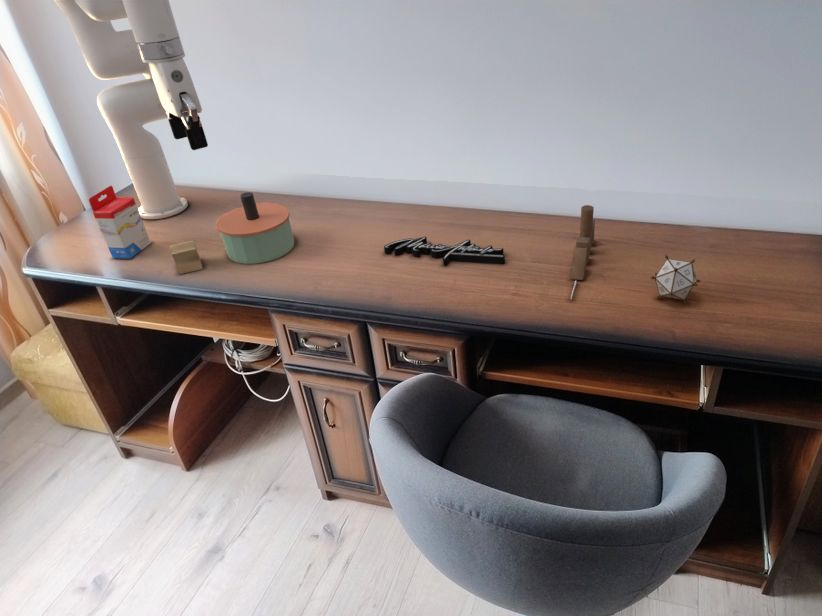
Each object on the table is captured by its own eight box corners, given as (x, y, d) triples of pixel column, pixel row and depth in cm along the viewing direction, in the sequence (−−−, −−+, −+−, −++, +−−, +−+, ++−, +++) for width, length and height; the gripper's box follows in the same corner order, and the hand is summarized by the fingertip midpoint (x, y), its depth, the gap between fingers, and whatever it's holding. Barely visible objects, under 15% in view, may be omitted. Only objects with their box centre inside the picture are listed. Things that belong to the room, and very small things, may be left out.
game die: (659, 311, 122) (640, 263, 122) (702, 294, 121) (683, 245, 120) (667, 315, 114) (646, 263, 113) (714, 296, 112) (693, 243, 112)
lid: (213, 217, 147) (204, 190, 143) (283, 202, 152) (276, 175, 148) (221, 245, 135) (212, 216, 131) (297, 227, 140) (290, 199, 136)
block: (178, 264, 143) (170, 244, 140) (200, 259, 144) (193, 239, 141) (179, 274, 139) (171, 254, 136) (202, 268, 141) (195, 248, 138)
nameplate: (377, 255, 137) (392, 235, 145) (378, 262, 138) (392, 241, 146) (502, 262, 131) (510, 240, 139) (502, 269, 132) (510, 247, 140)
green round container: (223, 242, 151) (215, 215, 146) (288, 227, 155) (281, 200, 151) (231, 270, 139) (222, 241, 135) (301, 253, 144) (294, 225, 139)
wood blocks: (582, 240, 140) (584, 196, 134) (594, 241, 139) (596, 197, 133) (564, 300, 121) (566, 251, 115) (578, 301, 120) (580, 252, 114)
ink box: (130, 259, 146) (105, 200, 138) (112, 258, 147) (85, 199, 139) (152, 242, 153) (129, 184, 144) (134, 241, 154) (110, 184, 145)
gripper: (198, 52, 112) (225, 147, 123) (166, 41, 124) (194, 129, 134) (155, 60, 109) (187, 157, 119) (127, 48, 120) (158, 138, 130)
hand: (191, 142), depth 126 cm, fingers open, 9 cm apart
